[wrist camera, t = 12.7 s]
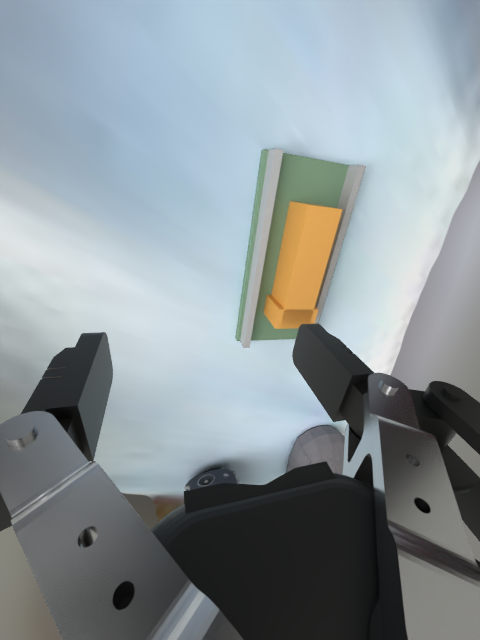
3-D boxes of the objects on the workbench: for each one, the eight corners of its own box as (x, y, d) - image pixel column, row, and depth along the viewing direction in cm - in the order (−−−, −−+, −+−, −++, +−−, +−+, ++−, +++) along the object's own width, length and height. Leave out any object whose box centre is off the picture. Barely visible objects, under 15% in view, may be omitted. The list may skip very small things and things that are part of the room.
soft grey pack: (327, 466, 71) (347, 416, 62) (345, 498, 64) (370, 447, 55) (277, 478, 67) (289, 426, 58) (290, 514, 60) (307, 461, 51)
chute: (284, 200, 33) (302, 204, 28) (325, 205, 34) (348, 210, 30) (263, 312, 40) (275, 328, 36) (297, 312, 42) (313, 328, 38)
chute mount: (261, 150, 30) (270, 147, 28) (353, 167, 34) (369, 166, 31) (235, 337, 42) (240, 347, 40) (305, 335, 46) (314, 344, 43)
